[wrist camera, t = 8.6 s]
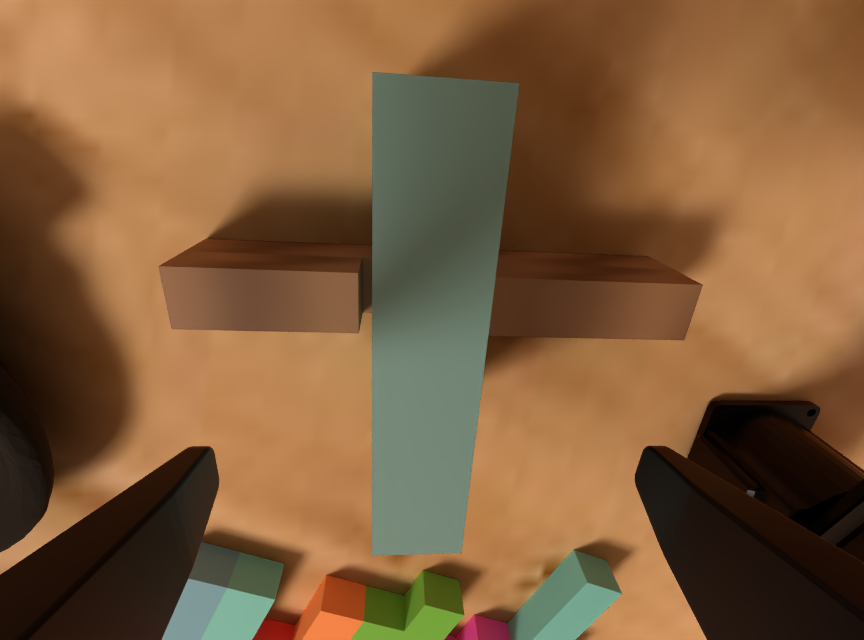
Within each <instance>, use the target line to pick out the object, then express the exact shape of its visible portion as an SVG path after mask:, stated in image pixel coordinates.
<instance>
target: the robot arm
mask: <svg viewBox="0 0 864 640" xmlns="http://www.w3.org/2000/svg"><path fill="white" fill-rule="evenodd" d="M717 410H718V411H717ZM819 413H820V407H818V406H817V405H816V404H814V403H813V402H810V401H714V402H712V403H711V404H710V405H709V406H708V407H707V410H706V412H705V415H704V417H703V420H702V423H701V425H700V428H699V430H698V433H697V436H696V438H695V441H694V443H693V446H692V448H691V451H690V454H689V456H688V459H687V458H685V457H683V456H682V455H680V454H678V453H677V452H675V451H673V450H672V449H670V448H668V447H666V446H647V447H645V448H644V450H643V452H642V455H641V458H640V461H639V464H638V467H637V470H636V473H635V484H636V487H637V490H638V492H639V495H640V497H641V500H642V502H643V505H644V507H645V510H646V512H647V515H648V517H649V520H650V522H651V525H652V527H653V530H654V532H655V535H656V537H657V540H658V542H659V545H660V547H661V549H662V552H663V554H664V556H665V558H666V560H667V562H668V564H669V566H670V568H671V570H672V572H673V574H674V576H675V578H676V580H677V582H678V584H679V586H680V588H681V590H682V592H683V594H684V596H685V598H686V600H687V602H688V604H689V606H690V607H691V609H692V611H693V613H694V615H695V617H696V619H697V621H698V623H699V625H700V627H701V629H702V631H703V633H704V635H705V637H706V639H707V640H864V470H863V469H861V468H860V467H859V466H857V465H856V464H855V463H853V462H852V461H851V460H849V459H848V458H846V457H845V456H844V455H842V454H841V453H840V452H838V451H837V450H836V449H834V448H833V447H831V446H830V445H829V444H827V443H826V442H825V441H823V440H822V439H821V438H819V437H818V436H817V435H815V434H814V433H812V432H811V431H810V430H811V428H812V426H813V424H814V422H815V421H816V419H817V417H818V415H819ZM218 487H219V475H218V469H217V464H216V459H215V453H214V450H213V449H212V448H211V447H209V446H192V447H188V448H187V449H185V450H184V451H182V452H181V453H179V454H178V455H176V456H175V457H173V458H172V459H170V460H169V461H167V462H166V463H164V464H163V465H161V466H160V467H158V468H157V469H156V470H154V471H153V472H151V473H150V474H148V475H147V476H145V477H144V478H142V479H141V480H139V481H138V482H136V483H135V484H133V485H132V486H130V487H129V488H128V489H126V490H125V491H123V492H122V493H120V494H119V495H117V496H116V497H114V498H113V499H111V500H110V501H108V502H107V503H105V504H104V505H103V506H101V507H100V508H98V509H97V510H95V511H94V512H92V513H91V514H89V515H88V516H86V517H85V518H83V519H82V520H80V521H79V522H77V523H76V524H75V525H73V526H72V527H70V528H69V529H67V530H66V531H64V532H63V533H61V534H60V535H58V536H57V537H55V538H54V539H52V540H51V541H49V542H48V543H47V544H45V545H44V546H42V547H41V548H39V549H38V550H36V551H35V552H33V553H32V554H30V555H29V556H27V557H26V558H24V559H23V560H21V561H20V562H19V563H17V564H16V565H14V566H13V567H11V568H10V569H8V570H7V571H5V572H4V573H2V574H1V575H0V640H162V638H163V636H164V633H165V631H166V629H167V626H168V624H169V622H170V620H171V617H172V615H173V613H174V610H175V608H176V606H177V604H178V601H179V599H180V597H181V594H182V592H183V590H184V588H185V585H186V583H187V581H188V578H189V576H190V573H191V571H192V568H193V566H194V563H195V560H196V557H197V554H198V551H199V548H200V545H201V542H202V538H203V535H204V532H205V529H206V526H207V523H208V520H209V516H210V513H211V510H212V507H213V504H214V501H215V498H216V494H217V491H218Z"/></svg>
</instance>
